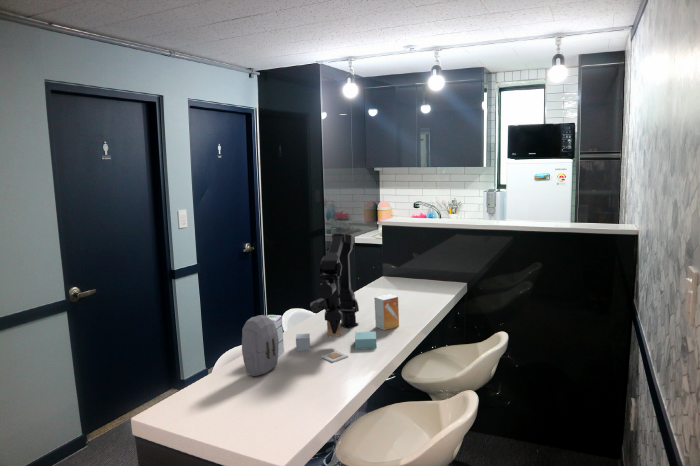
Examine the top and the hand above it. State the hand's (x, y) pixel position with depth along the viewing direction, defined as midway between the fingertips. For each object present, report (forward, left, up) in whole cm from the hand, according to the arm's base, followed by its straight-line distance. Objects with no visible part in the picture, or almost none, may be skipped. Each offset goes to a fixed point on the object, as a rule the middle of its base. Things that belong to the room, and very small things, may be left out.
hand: (334, 331), depth 196 cm
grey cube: (-7, -10, -6) cm, 14 cm away
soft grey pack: (+2, -32, -6) cm, 33 cm away
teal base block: (+8, +9, -6) cm, 13 cm away
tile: (+9, -7, -6) cm, 13 cm away
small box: (-2, +29, -6) cm, 30 cm away
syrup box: (-10, -21, -6) cm, 24 cm away
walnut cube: (0, 0, -1) cm, 1 cm away
